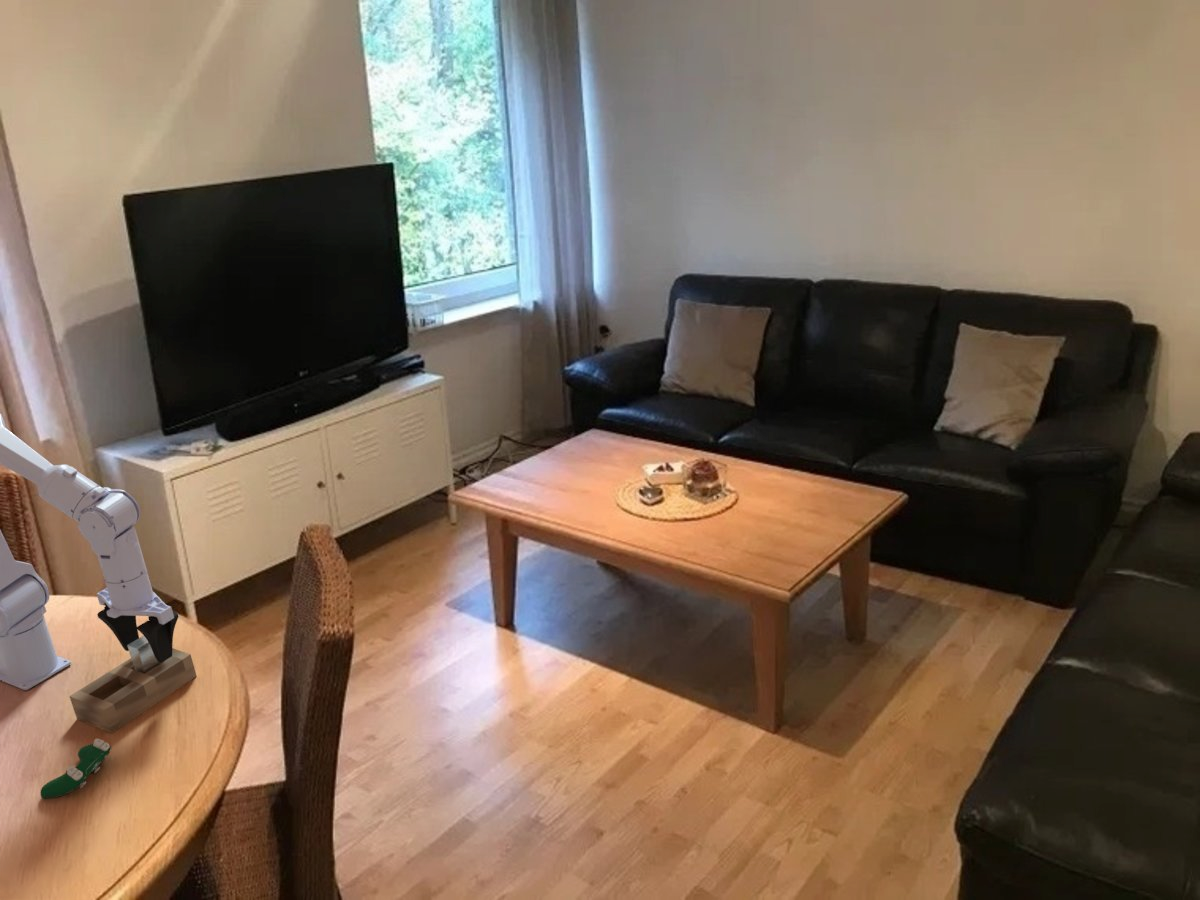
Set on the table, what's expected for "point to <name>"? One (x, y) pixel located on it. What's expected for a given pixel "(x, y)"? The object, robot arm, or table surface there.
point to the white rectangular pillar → (142, 655)
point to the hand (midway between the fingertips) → (148, 653)
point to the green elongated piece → (78, 770)
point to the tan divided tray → (130, 691)
